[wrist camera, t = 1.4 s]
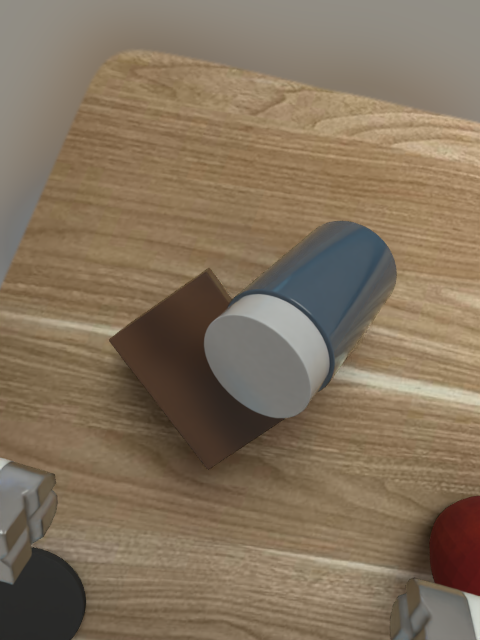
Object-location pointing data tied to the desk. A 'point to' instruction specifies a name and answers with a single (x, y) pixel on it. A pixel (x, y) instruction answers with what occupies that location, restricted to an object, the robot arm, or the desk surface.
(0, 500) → the robot arm
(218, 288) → the prop block
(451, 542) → the apple
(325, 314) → the jar
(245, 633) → the desk surface
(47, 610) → the coaster
